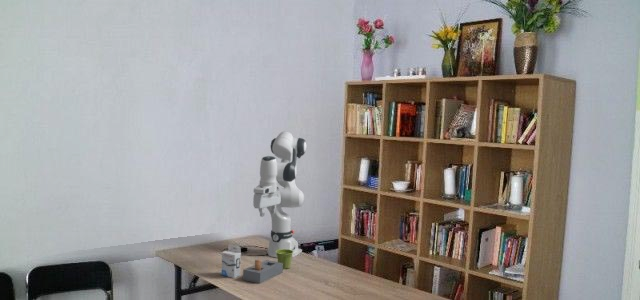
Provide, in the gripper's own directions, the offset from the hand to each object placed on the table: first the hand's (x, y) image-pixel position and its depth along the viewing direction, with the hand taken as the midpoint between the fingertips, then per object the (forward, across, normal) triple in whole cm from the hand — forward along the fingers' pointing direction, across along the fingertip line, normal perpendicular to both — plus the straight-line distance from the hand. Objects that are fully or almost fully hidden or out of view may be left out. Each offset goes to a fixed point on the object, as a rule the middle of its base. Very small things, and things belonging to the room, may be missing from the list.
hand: (267, 214), depth 243 cm
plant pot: (+29, -10, +5) cm, 31 cm away
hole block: (+29, +8, +4) cm, 30 cm away
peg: (+29, +13, +4) cm, 32 cm away
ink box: (+29, +16, -10) cm, 35 cm away
